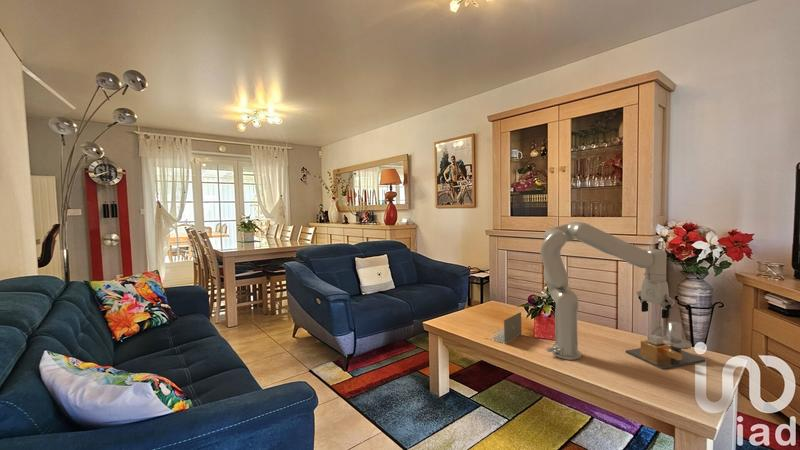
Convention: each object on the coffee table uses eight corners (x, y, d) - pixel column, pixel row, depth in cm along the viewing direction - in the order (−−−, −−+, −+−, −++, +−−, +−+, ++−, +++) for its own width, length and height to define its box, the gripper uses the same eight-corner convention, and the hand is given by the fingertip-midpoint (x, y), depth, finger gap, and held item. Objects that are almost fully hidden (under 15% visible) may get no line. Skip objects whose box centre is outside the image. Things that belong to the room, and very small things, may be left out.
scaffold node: (666, 371, 146) (666, 336, 145) (625, 352, 165) (625, 321, 164) (710, 363, 151) (710, 329, 151) (665, 345, 171) (665, 315, 170)
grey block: (656, 358, 156) (656, 339, 155) (647, 355, 159) (647, 335, 159) (663, 357, 157) (663, 337, 156) (654, 353, 160) (654, 334, 160)
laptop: (501, 329, 202) (501, 307, 201) (521, 335, 193) (521, 312, 192) (484, 339, 189) (483, 315, 189) (505, 345, 180) (504, 320, 180)
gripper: (631, 274, 163) (631, 309, 164) (667, 281, 147) (666, 321, 148) (644, 273, 165) (643, 308, 166) (681, 280, 148) (680, 319, 149)
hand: (654, 314), depth 157 cm, fingers open, 9 cm apart
